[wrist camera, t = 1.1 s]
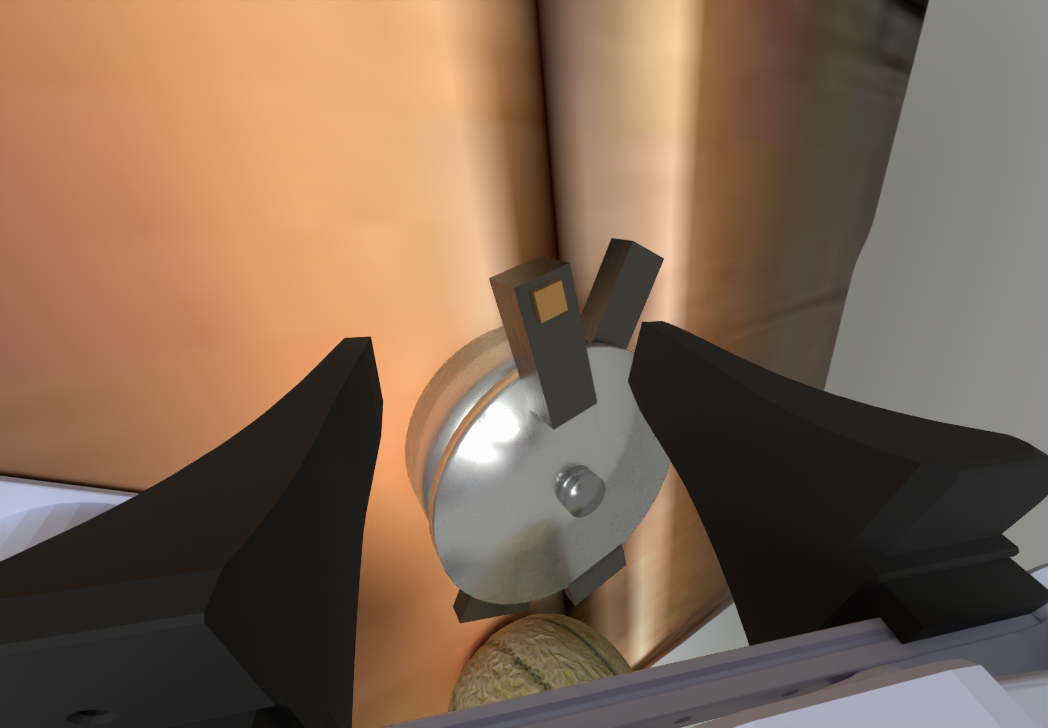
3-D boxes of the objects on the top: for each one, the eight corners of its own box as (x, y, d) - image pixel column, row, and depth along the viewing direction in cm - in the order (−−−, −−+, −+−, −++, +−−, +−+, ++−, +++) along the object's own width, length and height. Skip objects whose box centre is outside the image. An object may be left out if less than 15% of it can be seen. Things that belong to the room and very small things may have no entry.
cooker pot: (547, 555, 34) (585, 604, 30) (359, 573, 25) (376, 646, 21) (664, 279, 30) (726, 292, 26) (487, 187, 21) (539, 186, 17)
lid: (673, 509, 31) (710, 538, 28) (493, 650, 25) (518, 702, 23) (643, 203, 20) (699, 205, 17) (314, 344, 14) (324, 377, 12)
